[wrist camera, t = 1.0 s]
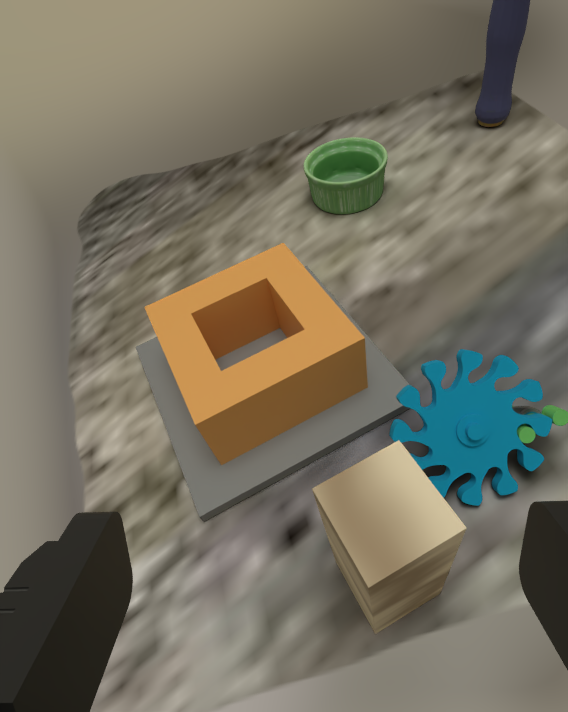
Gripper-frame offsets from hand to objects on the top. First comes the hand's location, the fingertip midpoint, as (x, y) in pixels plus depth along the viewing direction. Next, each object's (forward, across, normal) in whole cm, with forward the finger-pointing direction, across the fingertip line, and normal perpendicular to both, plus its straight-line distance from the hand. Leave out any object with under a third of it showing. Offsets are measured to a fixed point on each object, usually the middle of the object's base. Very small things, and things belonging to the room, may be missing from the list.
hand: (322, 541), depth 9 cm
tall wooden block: (+15, -5, +16) cm, 22 cm away
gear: (+21, -12, +12) cm, 27 cm away
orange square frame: (+29, +3, +9) cm, 31 cm away
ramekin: (+50, -6, -5) cm, 50 cm away
